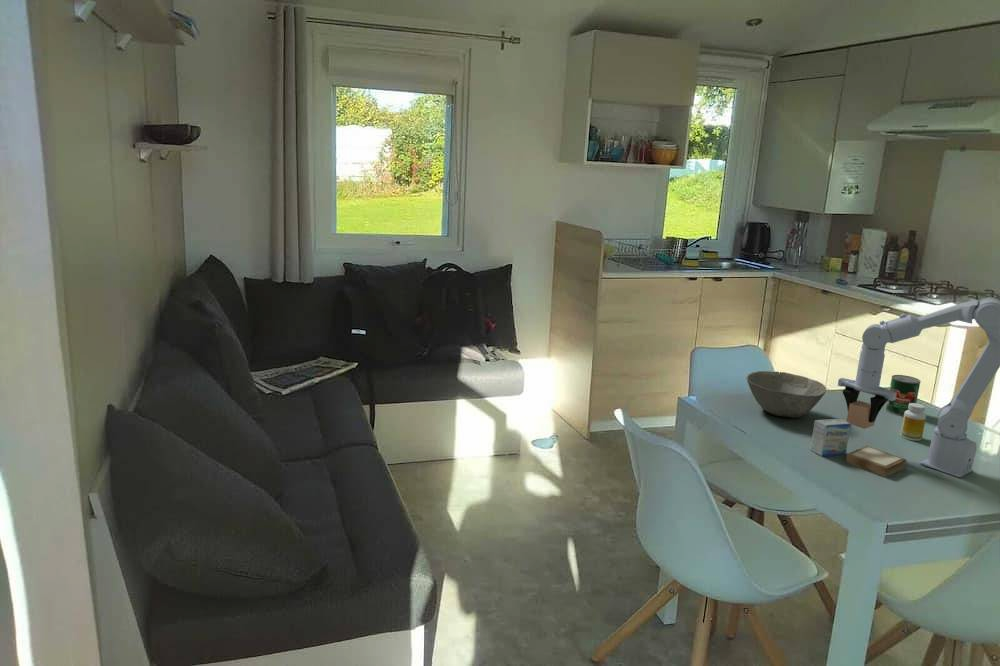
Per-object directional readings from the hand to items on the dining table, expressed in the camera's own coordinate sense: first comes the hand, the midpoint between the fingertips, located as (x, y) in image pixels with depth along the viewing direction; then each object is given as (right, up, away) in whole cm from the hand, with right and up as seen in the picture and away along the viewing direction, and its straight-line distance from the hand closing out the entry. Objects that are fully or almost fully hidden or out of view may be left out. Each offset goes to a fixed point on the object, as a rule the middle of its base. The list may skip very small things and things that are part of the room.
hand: (861, 418), depth 190 cm
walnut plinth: (-1, -11, -10) cm, 15 cm away
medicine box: (-10, -9, -2) cm, 14 cm away
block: (0, -2, 0) cm, 2 cm away
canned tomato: (+28, -2, +32) cm, 42 cm away
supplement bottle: (+19, -7, +11) cm, 23 cm away
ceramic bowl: (-11, -2, +26) cm, 28 cm away
